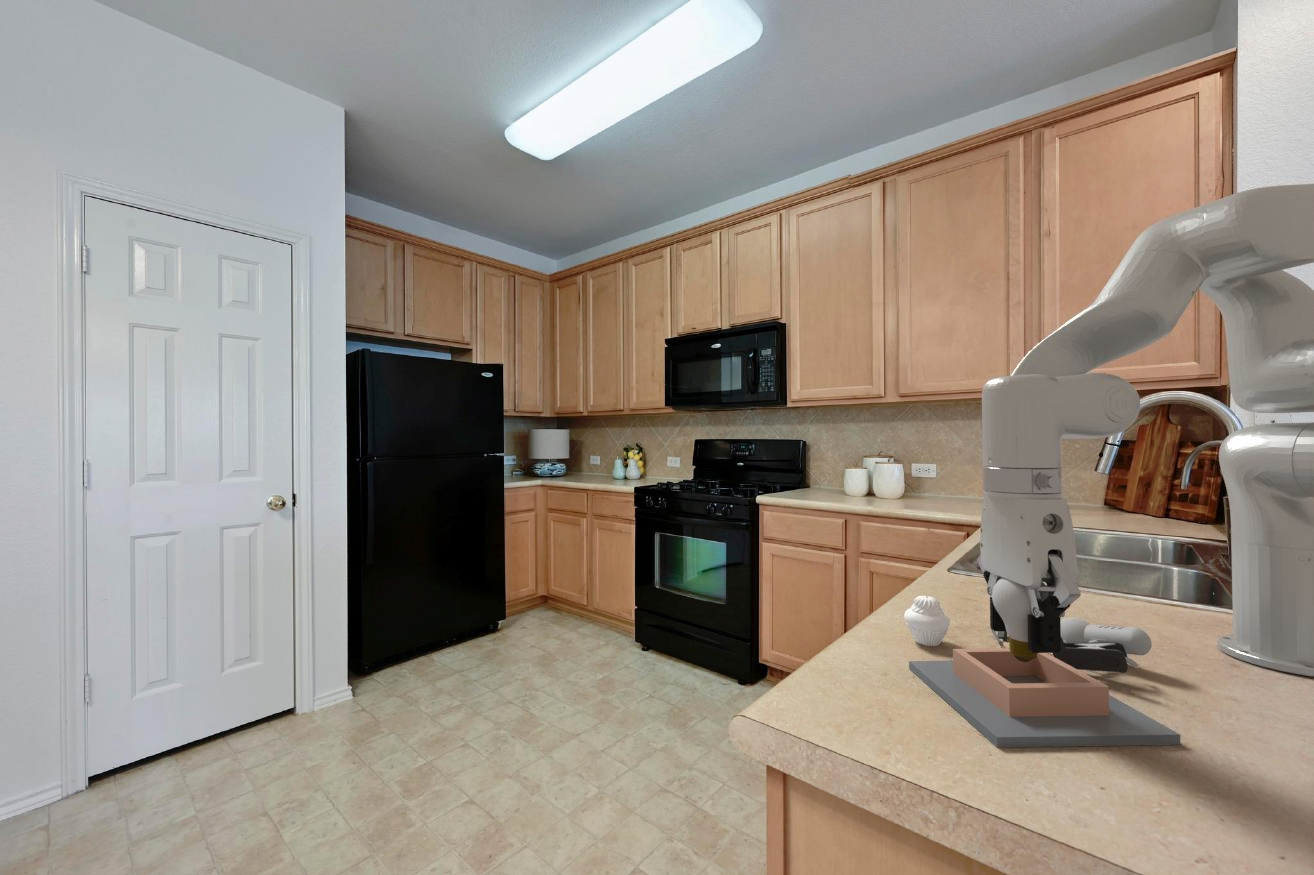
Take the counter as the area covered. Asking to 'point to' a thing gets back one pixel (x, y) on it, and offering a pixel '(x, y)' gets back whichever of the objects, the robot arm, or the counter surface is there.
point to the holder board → (1037, 702)
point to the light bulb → (1015, 615)
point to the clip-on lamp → (1097, 645)
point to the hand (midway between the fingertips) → (1023, 638)
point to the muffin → (927, 621)
